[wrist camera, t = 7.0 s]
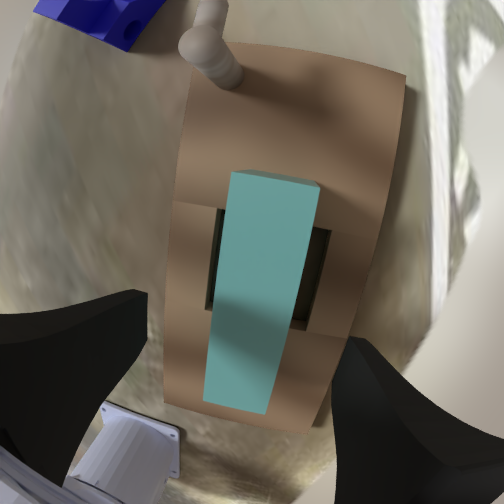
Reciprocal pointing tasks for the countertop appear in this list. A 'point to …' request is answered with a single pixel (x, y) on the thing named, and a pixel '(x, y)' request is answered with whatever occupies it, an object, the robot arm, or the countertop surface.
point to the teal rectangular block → (257, 284)
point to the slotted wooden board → (286, 163)
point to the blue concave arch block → (103, 17)
